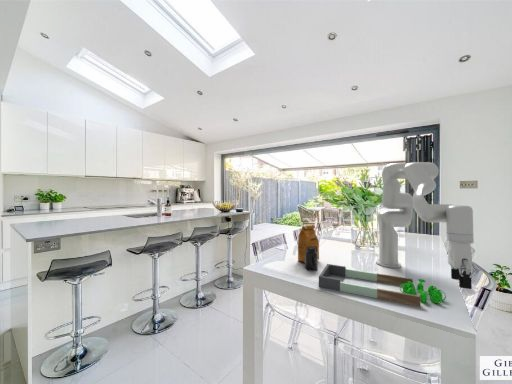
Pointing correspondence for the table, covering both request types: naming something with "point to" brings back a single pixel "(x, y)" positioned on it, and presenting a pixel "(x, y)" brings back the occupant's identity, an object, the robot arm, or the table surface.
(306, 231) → the coffee package
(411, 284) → the green bumpy clump
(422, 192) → the robot arm
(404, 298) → the walnut channel
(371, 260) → the table surface
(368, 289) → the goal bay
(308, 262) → the supplement bottle
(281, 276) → the table surface
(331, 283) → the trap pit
